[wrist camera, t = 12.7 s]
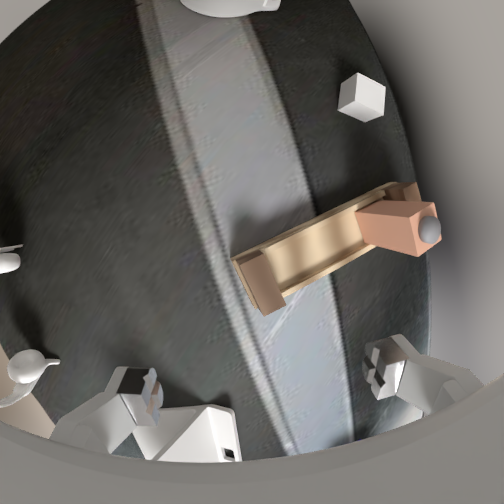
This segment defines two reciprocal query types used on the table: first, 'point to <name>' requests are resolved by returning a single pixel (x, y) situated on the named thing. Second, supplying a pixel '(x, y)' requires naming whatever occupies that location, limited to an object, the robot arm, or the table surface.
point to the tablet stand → (191, 435)
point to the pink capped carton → (400, 225)
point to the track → (310, 249)
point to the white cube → (361, 98)
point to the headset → (25, 362)
